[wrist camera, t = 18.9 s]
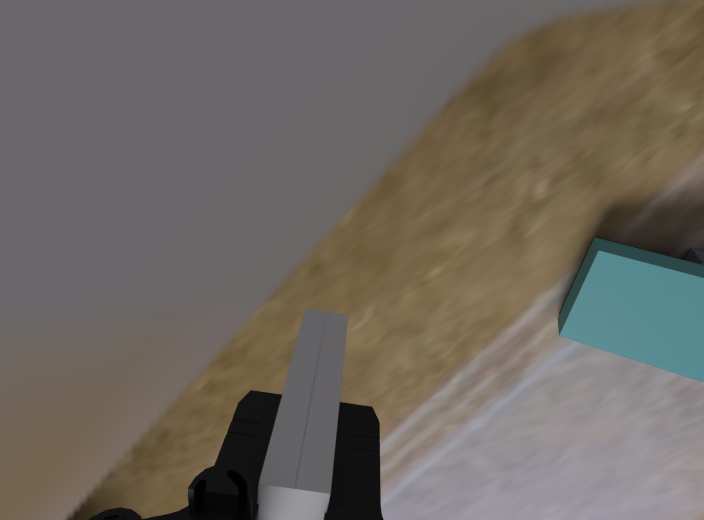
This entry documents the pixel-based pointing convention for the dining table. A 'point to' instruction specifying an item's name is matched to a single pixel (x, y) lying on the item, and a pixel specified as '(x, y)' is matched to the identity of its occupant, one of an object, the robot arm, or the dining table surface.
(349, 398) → the dining table surface
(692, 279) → the domino
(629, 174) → the dining table surface
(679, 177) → the dining table surface
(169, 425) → the dining table surface
